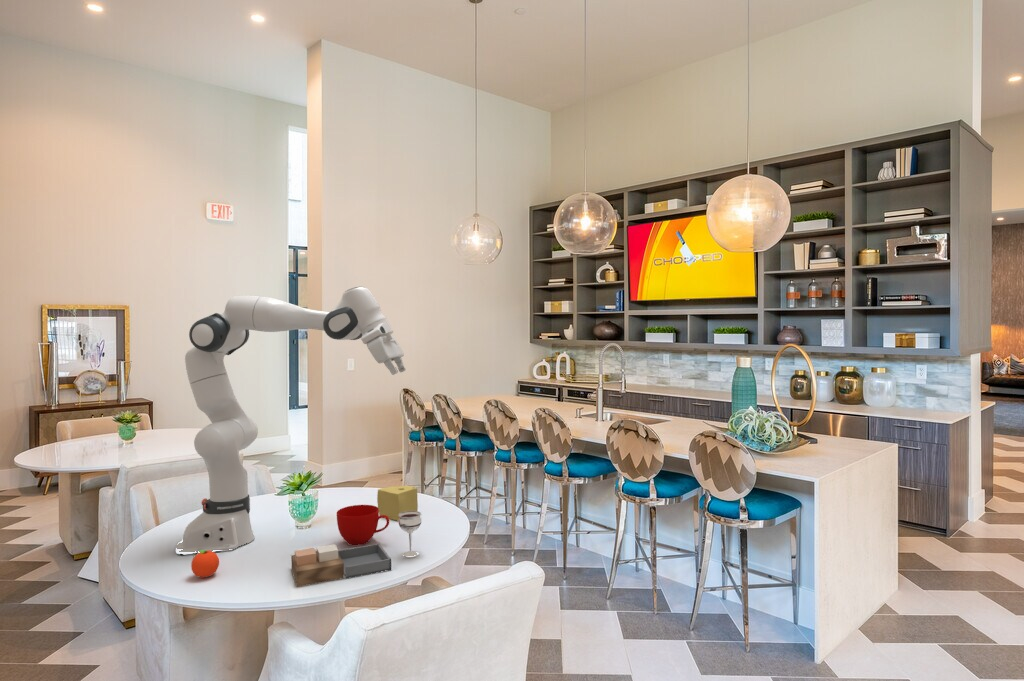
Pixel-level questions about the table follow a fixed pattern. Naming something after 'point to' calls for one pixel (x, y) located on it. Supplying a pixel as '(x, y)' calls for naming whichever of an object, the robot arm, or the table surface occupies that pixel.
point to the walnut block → (317, 571)
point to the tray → (364, 560)
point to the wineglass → (409, 525)
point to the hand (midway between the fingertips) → (399, 372)
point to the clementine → (205, 563)
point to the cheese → (397, 500)
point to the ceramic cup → (359, 523)
